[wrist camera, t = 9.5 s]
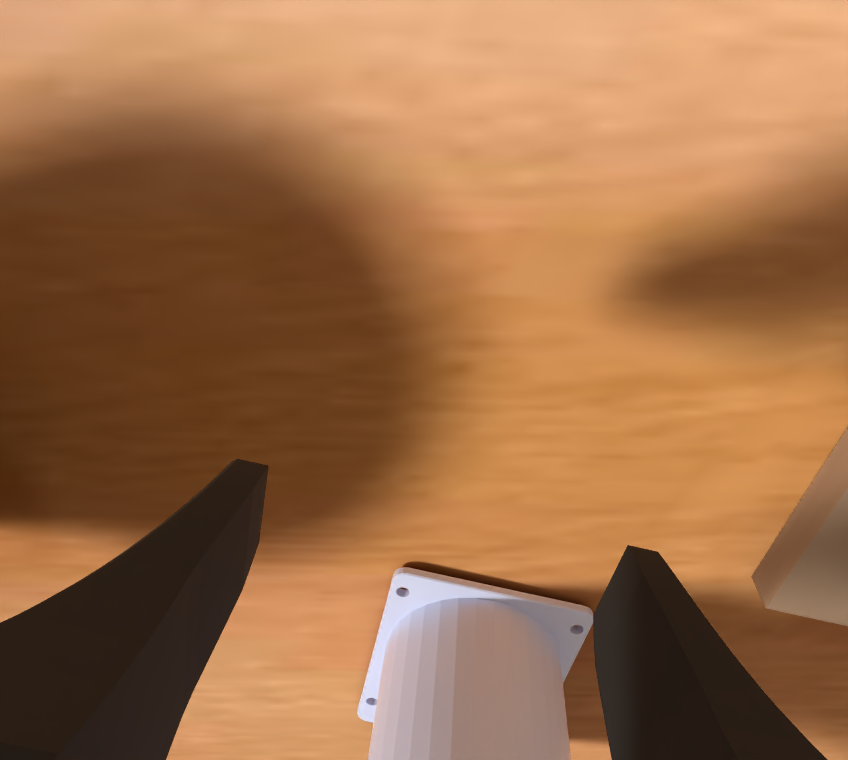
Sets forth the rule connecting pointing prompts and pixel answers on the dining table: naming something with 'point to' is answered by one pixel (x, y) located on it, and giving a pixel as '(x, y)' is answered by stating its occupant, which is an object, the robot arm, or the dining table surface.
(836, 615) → the ledge board
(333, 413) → the dining table surface
